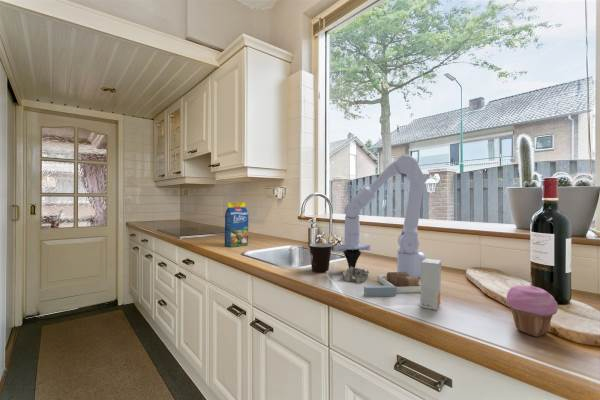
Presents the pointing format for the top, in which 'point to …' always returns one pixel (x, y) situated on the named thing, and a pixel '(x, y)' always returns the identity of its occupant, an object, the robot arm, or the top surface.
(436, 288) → the skincare box
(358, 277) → the gravel pile
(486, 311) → the top surface
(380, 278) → the white shallow tray
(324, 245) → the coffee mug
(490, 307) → the top surface
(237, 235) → the blue food package
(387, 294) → the block
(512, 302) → the cupcake
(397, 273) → the racked roller
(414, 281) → the loose roller
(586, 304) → the top surface
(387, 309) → the top surface
